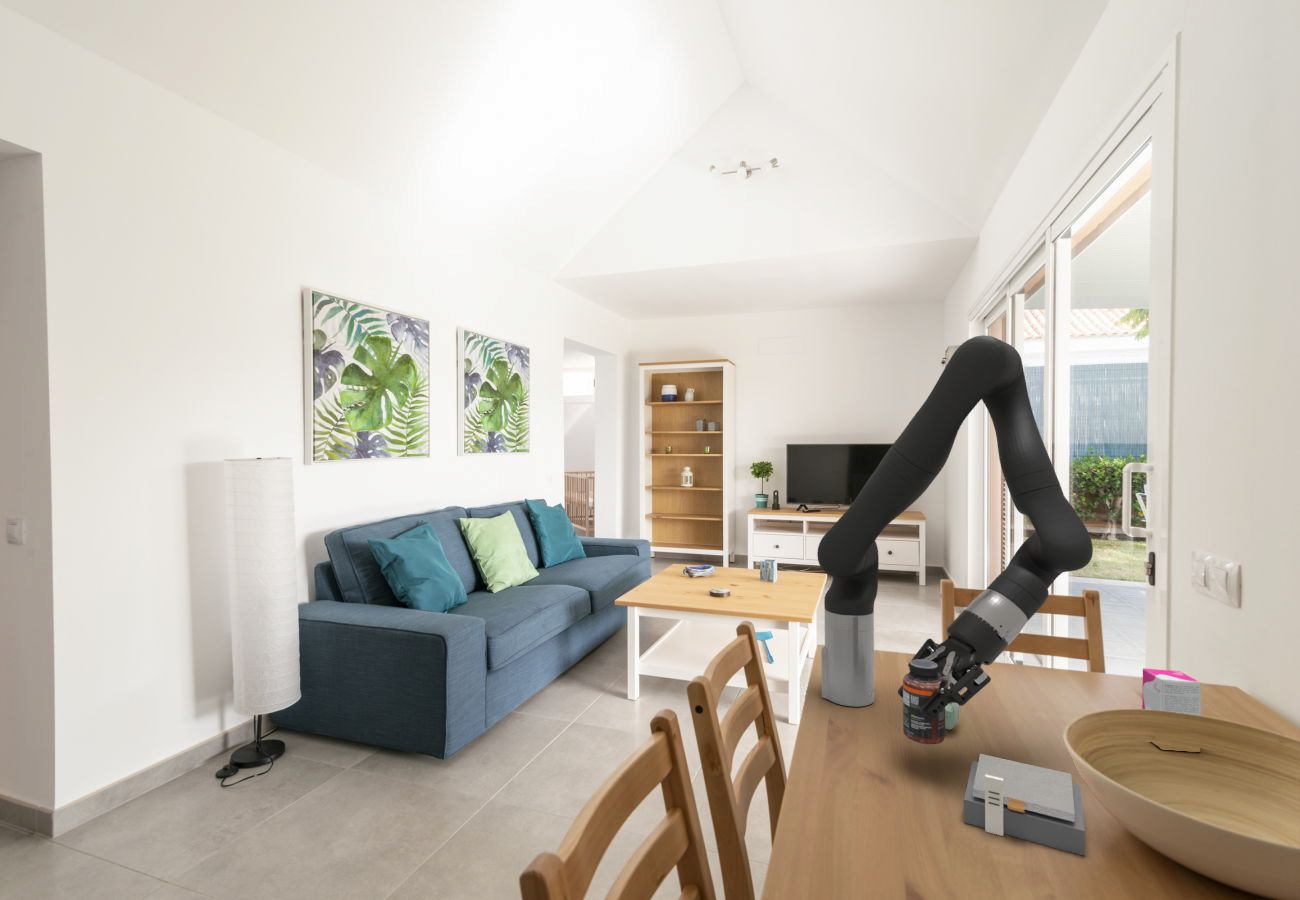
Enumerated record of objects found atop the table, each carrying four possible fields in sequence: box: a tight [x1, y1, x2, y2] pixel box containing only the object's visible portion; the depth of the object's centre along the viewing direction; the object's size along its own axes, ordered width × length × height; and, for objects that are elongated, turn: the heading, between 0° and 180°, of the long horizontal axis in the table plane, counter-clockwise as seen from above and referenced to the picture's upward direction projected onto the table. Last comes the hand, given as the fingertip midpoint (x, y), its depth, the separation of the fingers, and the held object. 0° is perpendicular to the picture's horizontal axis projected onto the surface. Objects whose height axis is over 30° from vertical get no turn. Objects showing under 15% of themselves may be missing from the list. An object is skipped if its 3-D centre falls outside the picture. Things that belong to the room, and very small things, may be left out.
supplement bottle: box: [902, 659, 946, 745], centre depth 96 cm, size 6×6×11 cm
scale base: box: [963, 760, 1086, 857], centre depth 84 cm, size 13×13×7 cm
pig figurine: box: [945, 703, 962, 730], centre depth 110 cm, size 8×4×7 cm, turn 139°
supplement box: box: [1141, 667, 1202, 717], centre depth 104 cm, size 6×6×12 cm
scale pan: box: [973, 753, 1075, 822], centre depth 83 cm, size 11×13×1 cm
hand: (913, 706), depth 96 cm, fingers closed on supplement bottle, 6 cm apart
